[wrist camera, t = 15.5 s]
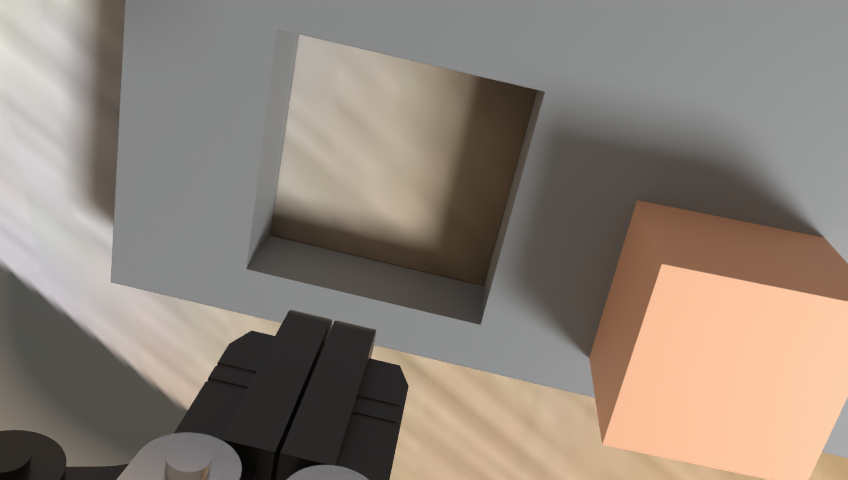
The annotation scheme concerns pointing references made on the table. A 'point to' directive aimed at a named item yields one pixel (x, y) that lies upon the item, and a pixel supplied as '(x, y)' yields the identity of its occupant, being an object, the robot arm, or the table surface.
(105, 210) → the table surface
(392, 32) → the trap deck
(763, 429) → the block
